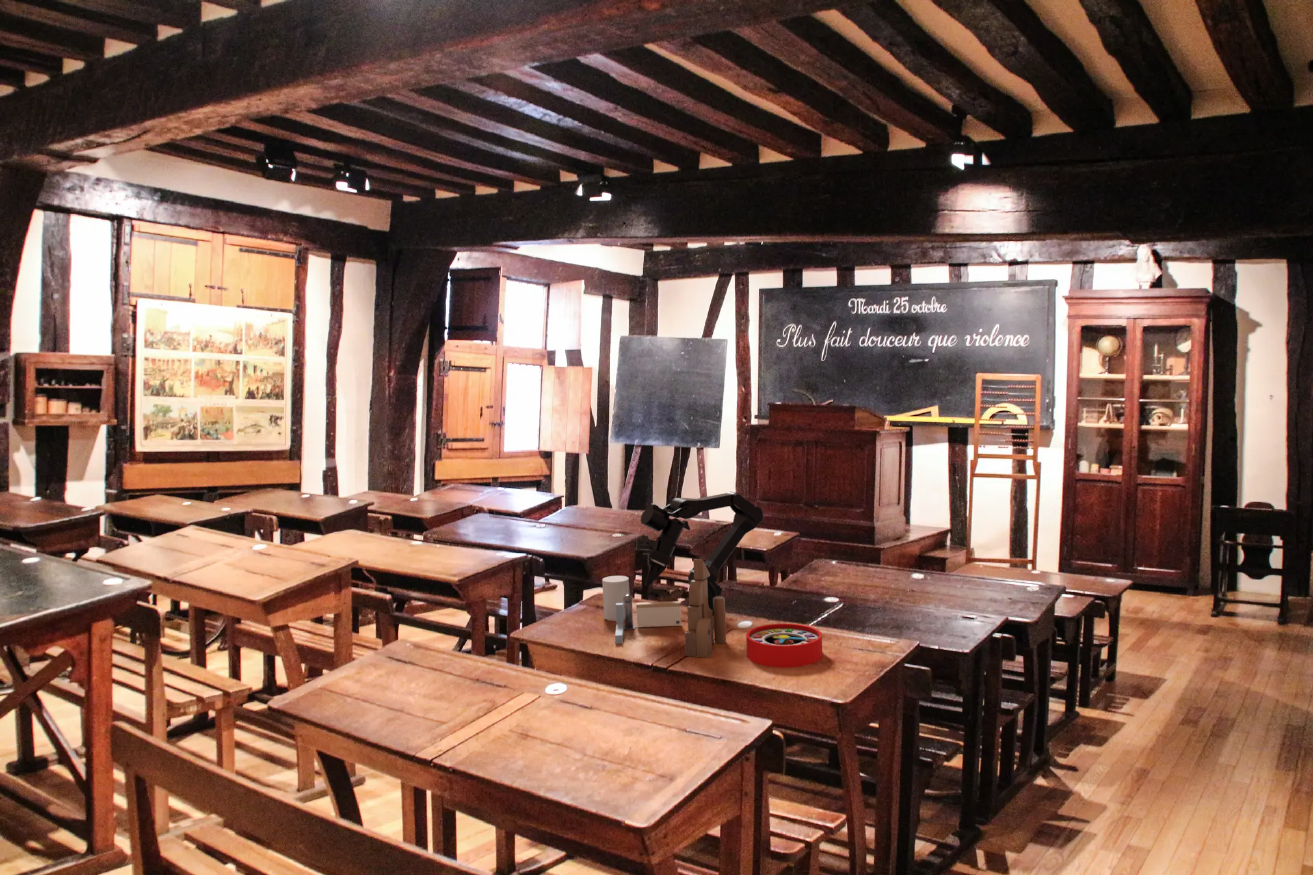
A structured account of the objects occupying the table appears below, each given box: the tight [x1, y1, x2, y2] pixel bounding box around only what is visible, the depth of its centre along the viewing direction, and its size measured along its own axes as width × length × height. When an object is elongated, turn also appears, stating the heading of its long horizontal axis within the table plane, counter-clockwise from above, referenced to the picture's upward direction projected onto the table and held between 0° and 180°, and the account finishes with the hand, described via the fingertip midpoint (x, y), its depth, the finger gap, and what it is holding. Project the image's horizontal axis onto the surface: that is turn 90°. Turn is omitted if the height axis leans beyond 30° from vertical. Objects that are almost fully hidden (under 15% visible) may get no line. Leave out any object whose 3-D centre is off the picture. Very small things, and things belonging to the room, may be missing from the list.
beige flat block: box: [636, 600, 682, 628], centre depth 290 cm, size 13×2×7 cm, turn 90°
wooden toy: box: [684, 558, 727, 658], centre depth 267 cm, size 16×7×25 cm, turn 157°
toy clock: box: [745, 623, 823, 669], centre depth 260 cm, size 20×6×20 cm
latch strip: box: [614, 603, 625, 645], centre depth 281 cm, size 2×14×8 cm, turn 0°
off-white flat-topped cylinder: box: [601, 575, 630, 622], centre depth 301 cm, size 8×8×12 cm
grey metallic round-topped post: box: [623, 594, 636, 631], centre depth 290 cm, size 4×4×10 cm
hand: (647, 585), depth 291 cm, fingers open, 9 cm apart
